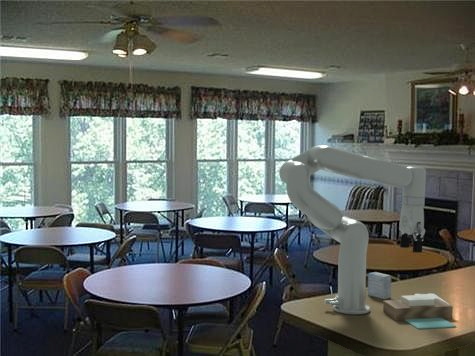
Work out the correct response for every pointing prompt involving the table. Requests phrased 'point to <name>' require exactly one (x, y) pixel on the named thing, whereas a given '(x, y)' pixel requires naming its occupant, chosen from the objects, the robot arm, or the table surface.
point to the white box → (417, 300)
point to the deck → (417, 310)
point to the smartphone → (432, 296)
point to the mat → (430, 323)
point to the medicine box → (379, 285)
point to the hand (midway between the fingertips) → (410, 249)
